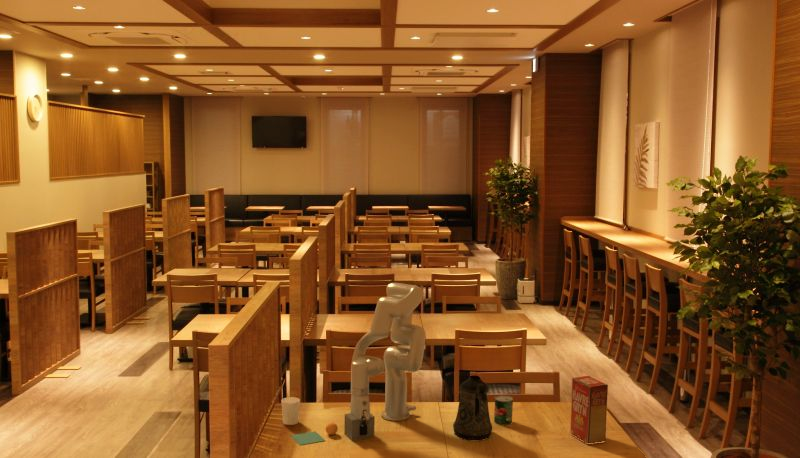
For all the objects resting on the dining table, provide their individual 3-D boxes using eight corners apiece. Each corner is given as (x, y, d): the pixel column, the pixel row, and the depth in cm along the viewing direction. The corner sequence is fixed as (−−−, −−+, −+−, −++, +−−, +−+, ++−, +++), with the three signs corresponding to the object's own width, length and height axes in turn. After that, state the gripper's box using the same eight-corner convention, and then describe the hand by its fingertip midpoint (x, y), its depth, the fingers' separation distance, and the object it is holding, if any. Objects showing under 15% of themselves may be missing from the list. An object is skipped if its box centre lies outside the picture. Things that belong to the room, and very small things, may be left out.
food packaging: (568, 434, 334) (571, 377, 331) (586, 431, 338) (589, 374, 335) (587, 445, 322) (590, 386, 319) (606, 442, 326) (609, 384, 323)
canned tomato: (491, 423, 345) (492, 399, 343) (496, 418, 352) (497, 394, 350) (509, 426, 342) (510, 402, 340) (514, 420, 349) (514, 396, 348)
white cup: (296, 426, 337) (296, 404, 336) (278, 424, 339) (278, 402, 337) (302, 420, 345) (302, 397, 344) (285, 418, 346) (285, 396, 345)
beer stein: (470, 423, 345) (472, 368, 342) (505, 436, 331) (507, 378, 328) (444, 433, 333) (446, 375, 330) (480, 446, 319) (482, 387, 316)
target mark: (315, 431, 332) (315, 431, 332) (325, 440, 322) (325, 440, 322) (290, 435, 327) (290, 435, 327) (299, 445, 317) (299, 444, 317)
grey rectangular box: (366, 430, 334) (366, 410, 333) (374, 436, 327) (374, 416, 326) (344, 434, 329) (344, 414, 328) (351, 440, 323) (352, 420, 321)
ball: (334, 431, 332) (334, 420, 332) (339, 435, 328) (339, 423, 327) (323, 433, 330) (323, 421, 329) (328, 437, 326) (328, 425, 325)
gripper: (377, 395, 320) (376, 437, 322) (359, 383, 335) (358, 422, 337) (360, 398, 316) (359, 440, 319) (343, 385, 332) (342, 425, 334)
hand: (359, 431), depth 328 cm, fingers closed on grey rectangular box, 7 cm apart
